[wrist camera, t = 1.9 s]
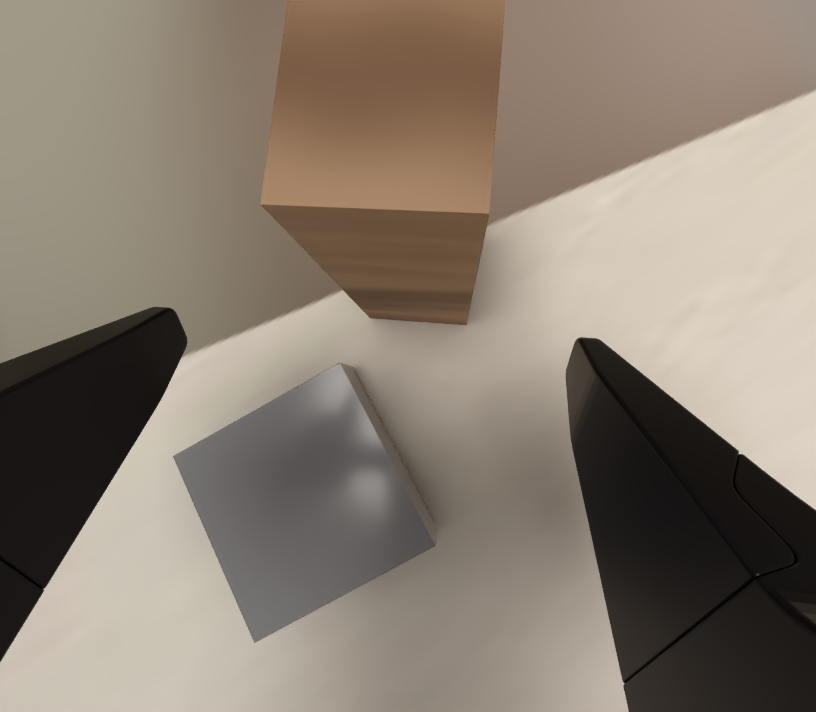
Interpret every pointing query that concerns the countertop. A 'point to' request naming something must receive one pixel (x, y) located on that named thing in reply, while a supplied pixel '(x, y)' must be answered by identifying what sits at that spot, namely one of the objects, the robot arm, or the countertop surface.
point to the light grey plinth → (305, 500)
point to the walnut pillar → (388, 147)
